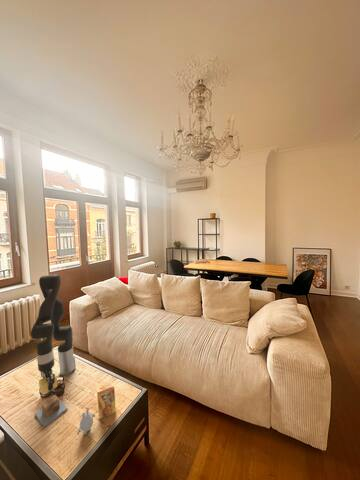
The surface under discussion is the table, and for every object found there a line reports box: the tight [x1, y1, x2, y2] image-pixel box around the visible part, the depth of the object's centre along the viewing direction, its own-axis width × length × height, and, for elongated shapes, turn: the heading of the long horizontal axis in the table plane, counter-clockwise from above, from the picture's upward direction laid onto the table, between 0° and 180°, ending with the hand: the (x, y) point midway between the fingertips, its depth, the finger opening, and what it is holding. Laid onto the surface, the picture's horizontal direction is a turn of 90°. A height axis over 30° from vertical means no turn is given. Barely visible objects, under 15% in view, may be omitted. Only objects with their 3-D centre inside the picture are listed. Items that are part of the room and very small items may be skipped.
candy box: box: [96, 383, 117, 420], centre depth 113 cm, size 9×4×15 cm, turn 116°
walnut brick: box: [40, 394, 60, 418], centre depth 115 cm, size 7×5×6 cm
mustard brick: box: [38, 375, 58, 396], centre depth 113 cm, size 7×5×6 cm
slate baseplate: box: [34, 399, 68, 428], centre depth 115 cm, size 12×12×1 cm
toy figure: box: [77, 408, 96, 436], centre depth 104 cm, size 11×6×12 cm, turn 154°
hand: (48, 387), depth 113 cm, fingers closed on mustard brick, 5 cm apart
